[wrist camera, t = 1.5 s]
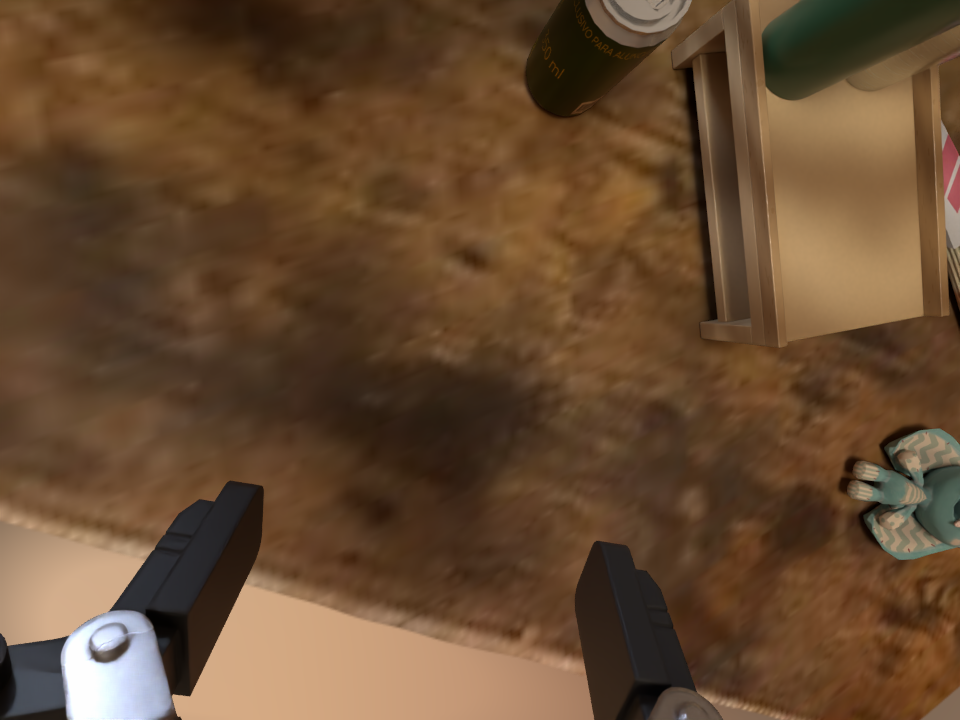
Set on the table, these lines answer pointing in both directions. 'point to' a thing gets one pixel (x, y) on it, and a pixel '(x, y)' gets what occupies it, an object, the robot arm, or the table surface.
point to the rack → (822, 163)
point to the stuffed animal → (914, 495)
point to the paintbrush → (952, 209)
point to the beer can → (595, 48)
